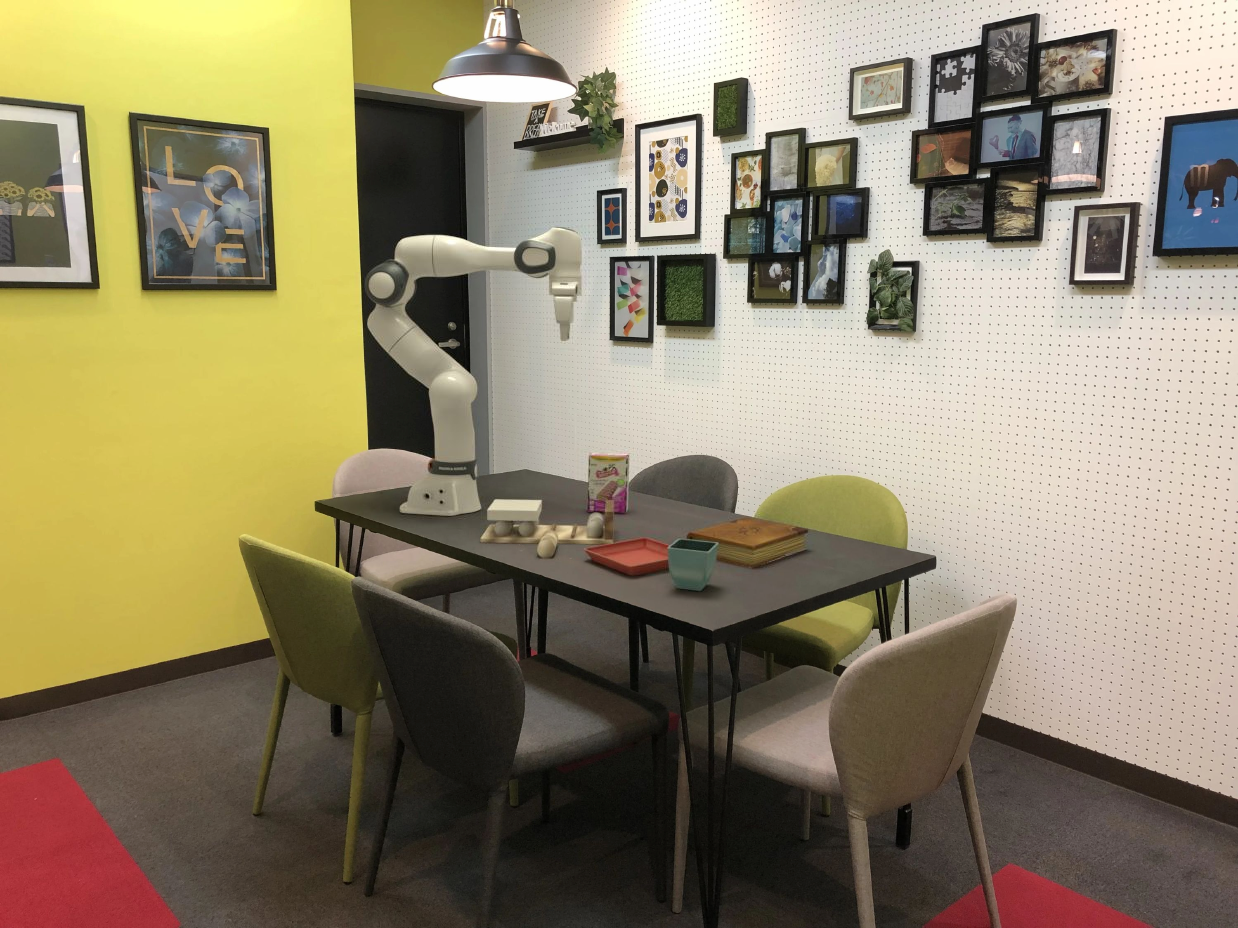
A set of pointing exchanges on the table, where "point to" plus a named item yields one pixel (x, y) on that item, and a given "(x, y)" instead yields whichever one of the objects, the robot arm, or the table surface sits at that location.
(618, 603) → the table surface
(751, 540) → the diary
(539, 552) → the roller
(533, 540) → the roller bed
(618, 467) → the candy bar box
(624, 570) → the plant saucer
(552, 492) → the table surface
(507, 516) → the slab
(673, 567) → the flower pot
